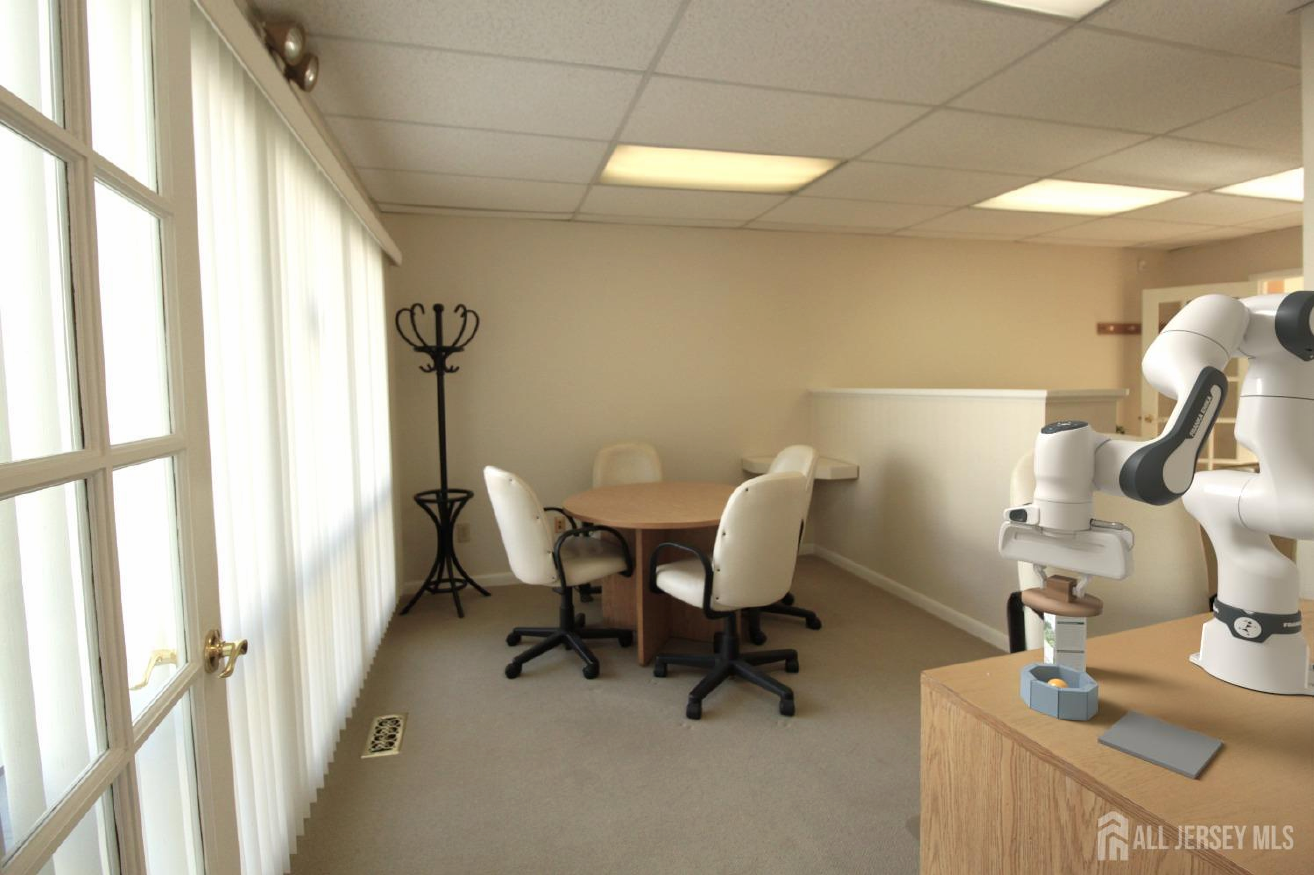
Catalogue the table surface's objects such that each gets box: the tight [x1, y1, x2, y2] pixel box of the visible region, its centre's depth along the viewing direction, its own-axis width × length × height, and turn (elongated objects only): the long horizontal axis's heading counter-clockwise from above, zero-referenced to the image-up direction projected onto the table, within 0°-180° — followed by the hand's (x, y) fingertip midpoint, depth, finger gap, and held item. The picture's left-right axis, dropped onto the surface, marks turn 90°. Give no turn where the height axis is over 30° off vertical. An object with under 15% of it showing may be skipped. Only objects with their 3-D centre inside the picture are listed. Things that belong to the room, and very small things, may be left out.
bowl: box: [1019, 662, 1100, 721], centre depth 111 cm, size 11×11×5 cm
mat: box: [1097, 710, 1224, 780], centre depth 99 cm, size 14×12×1 cm
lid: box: [1021, 574, 1104, 618], centre depth 110 cm, size 12×12×5 cm
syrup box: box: [1042, 612, 1087, 673], centre depth 124 cm, size 6×6×14 cm
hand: (1061, 592), depth 110 cm, fingers closed on lid, 3 cm apart
